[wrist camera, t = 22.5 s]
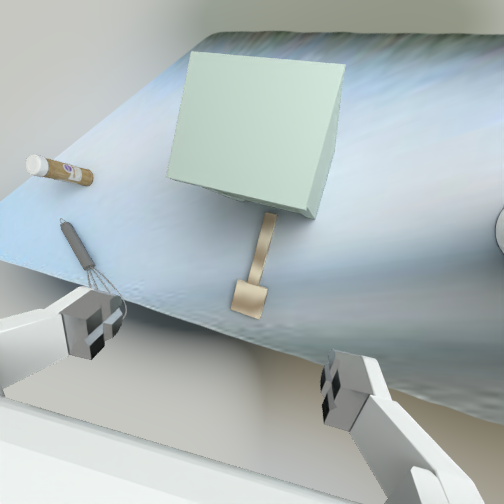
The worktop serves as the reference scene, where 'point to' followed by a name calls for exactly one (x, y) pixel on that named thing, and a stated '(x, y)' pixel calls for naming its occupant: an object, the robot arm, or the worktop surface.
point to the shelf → (258, 129)
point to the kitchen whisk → (81, 252)
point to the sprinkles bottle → (58, 170)
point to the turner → (255, 275)
